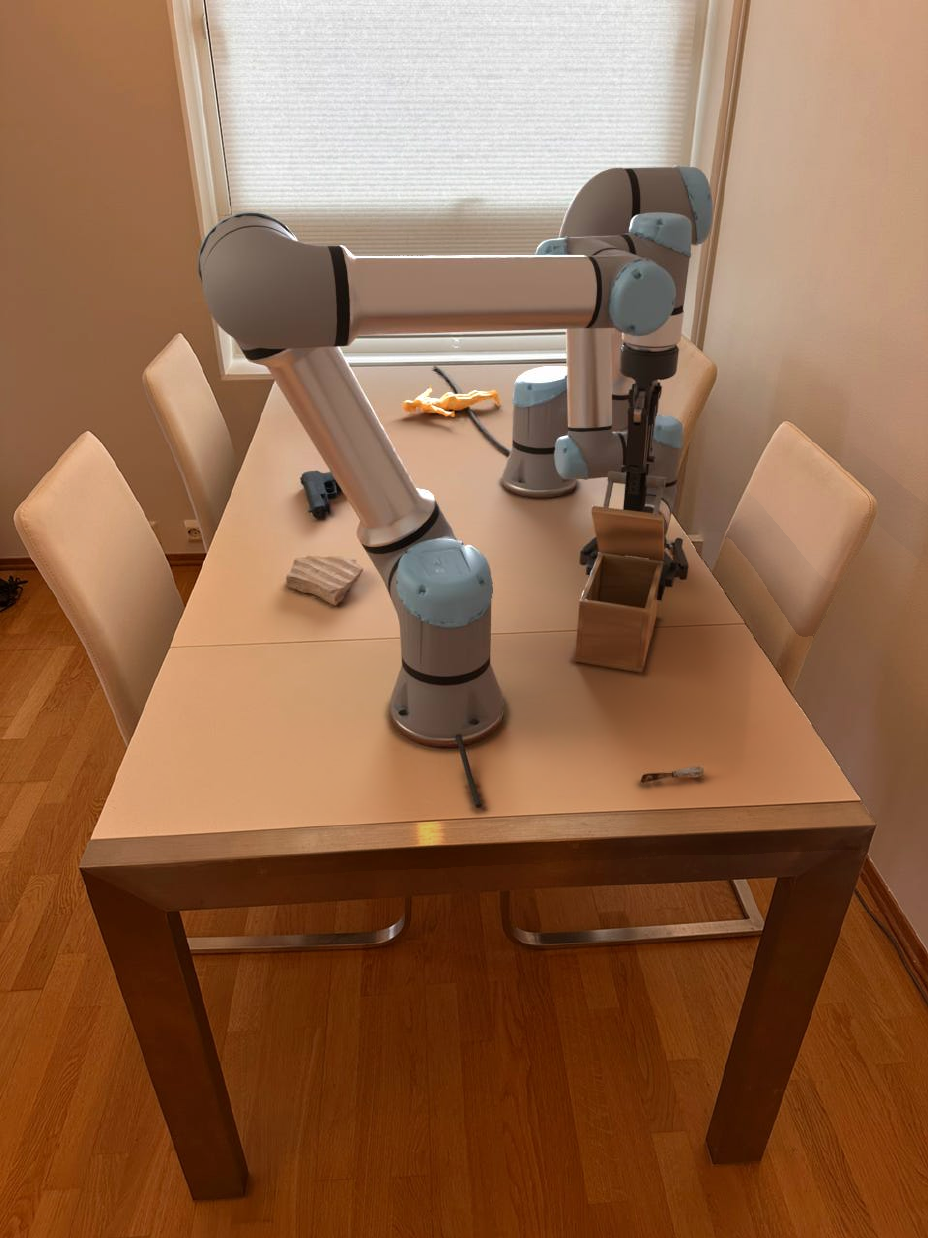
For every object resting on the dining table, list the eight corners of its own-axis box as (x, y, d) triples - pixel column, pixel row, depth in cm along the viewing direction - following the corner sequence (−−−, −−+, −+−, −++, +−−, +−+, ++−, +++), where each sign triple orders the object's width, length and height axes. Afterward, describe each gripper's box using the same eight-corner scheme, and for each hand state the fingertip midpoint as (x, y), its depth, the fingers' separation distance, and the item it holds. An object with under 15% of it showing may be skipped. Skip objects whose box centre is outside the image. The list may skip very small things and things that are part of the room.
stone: (372, 573, 153) (371, 560, 152) (338, 607, 144) (336, 593, 143) (307, 560, 158) (306, 548, 156) (270, 592, 148) (268, 579, 147)
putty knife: (703, 777, 109) (705, 767, 109) (642, 788, 108) (644, 777, 107) (700, 772, 110) (702, 762, 109) (639, 782, 109) (640, 771, 108)
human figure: (395, 413, 223) (394, 398, 221) (438, 390, 237) (438, 375, 235) (462, 429, 215) (462, 413, 213) (502, 404, 229) (503, 388, 227)
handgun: (371, 513, 174) (309, 521, 172) (356, 478, 189) (299, 484, 186) (370, 498, 173) (308, 506, 170) (355, 464, 187) (297, 470, 184)
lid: (663, 520, 120) (672, 468, 122) (591, 511, 123) (601, 459, 124) (663, 561, 135) (671, 513, 137) (599, 552, 138) (608, 505, 140)
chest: (641, 673, 128) (649, 611, 123) (574, 661, 131) (579, 600, 126) (655, 619, 141) (663, 561, 136) (594, 609, 144) (599, 552, 138)
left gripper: (630, 327, 123) (616, 486, 135) (611, 356, 111) (598, 527, 124) (685, 331, 121) (666, 492, 133) (672, 361, 109) (652, 534, 122)
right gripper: (709, 554, 153) (697, 620, 135) (580, 536, 159) (551, 597, 141) (715, 514, 149) (703, 576, 131) (582, 497, 155) (554, 555, 137)
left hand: (633, 508), depth 128 cm, fingers closed on lid, 1 cm apart
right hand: (625, 587), depth 136 cm, fingers closed on chest, 10 cm apart
